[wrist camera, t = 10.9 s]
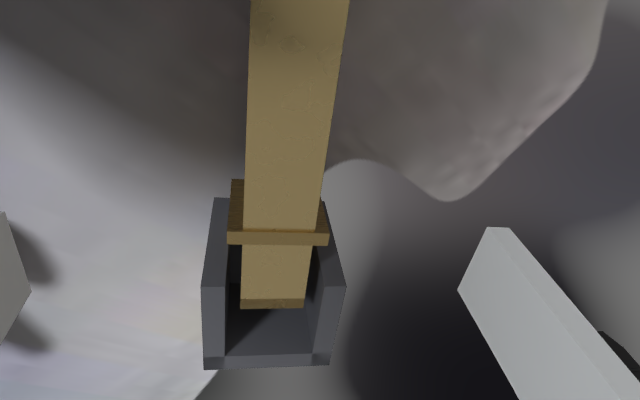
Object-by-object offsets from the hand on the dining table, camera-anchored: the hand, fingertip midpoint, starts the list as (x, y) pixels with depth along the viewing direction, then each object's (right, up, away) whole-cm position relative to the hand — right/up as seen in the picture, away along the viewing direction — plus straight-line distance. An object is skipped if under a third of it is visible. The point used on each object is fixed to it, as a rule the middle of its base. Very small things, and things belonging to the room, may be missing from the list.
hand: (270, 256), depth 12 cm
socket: (-3, -2, +26) cm, 26 cm away
